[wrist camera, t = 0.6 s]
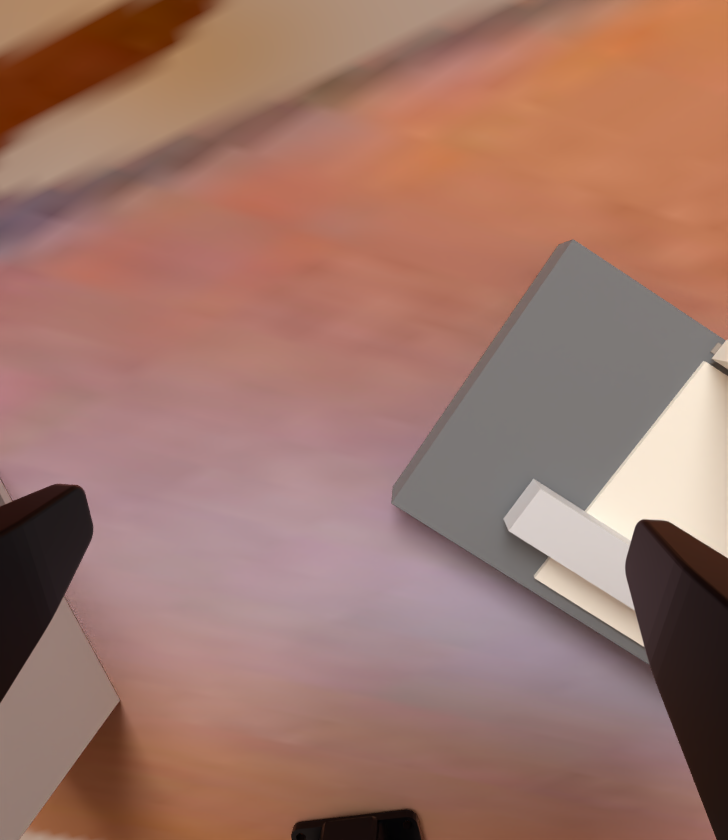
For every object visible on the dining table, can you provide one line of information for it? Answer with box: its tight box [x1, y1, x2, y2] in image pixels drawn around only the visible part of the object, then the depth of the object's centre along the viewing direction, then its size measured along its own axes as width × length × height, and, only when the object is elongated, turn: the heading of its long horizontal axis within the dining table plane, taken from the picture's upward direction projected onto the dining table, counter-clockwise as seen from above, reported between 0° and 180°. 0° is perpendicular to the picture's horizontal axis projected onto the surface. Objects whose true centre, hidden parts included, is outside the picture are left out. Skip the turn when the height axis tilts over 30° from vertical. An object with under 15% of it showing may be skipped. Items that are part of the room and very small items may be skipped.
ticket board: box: [391, 240, 728, 664], centre depth 22 cm, size 12×20×3 cm, turn 58°
